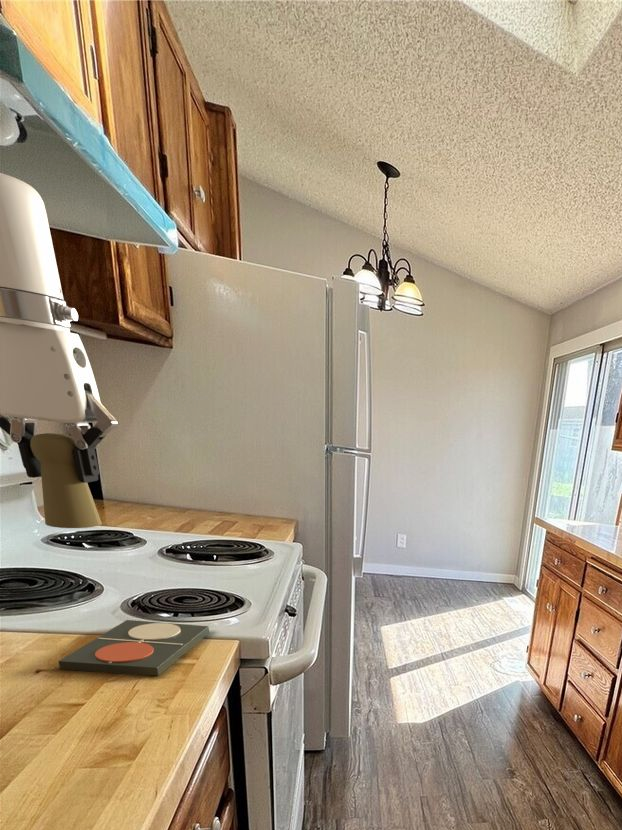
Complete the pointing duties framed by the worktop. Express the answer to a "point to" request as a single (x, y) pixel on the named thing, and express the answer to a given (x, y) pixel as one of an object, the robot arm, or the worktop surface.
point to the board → (136, 648)
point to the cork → (63, 484)
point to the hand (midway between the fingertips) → (63, 477)
